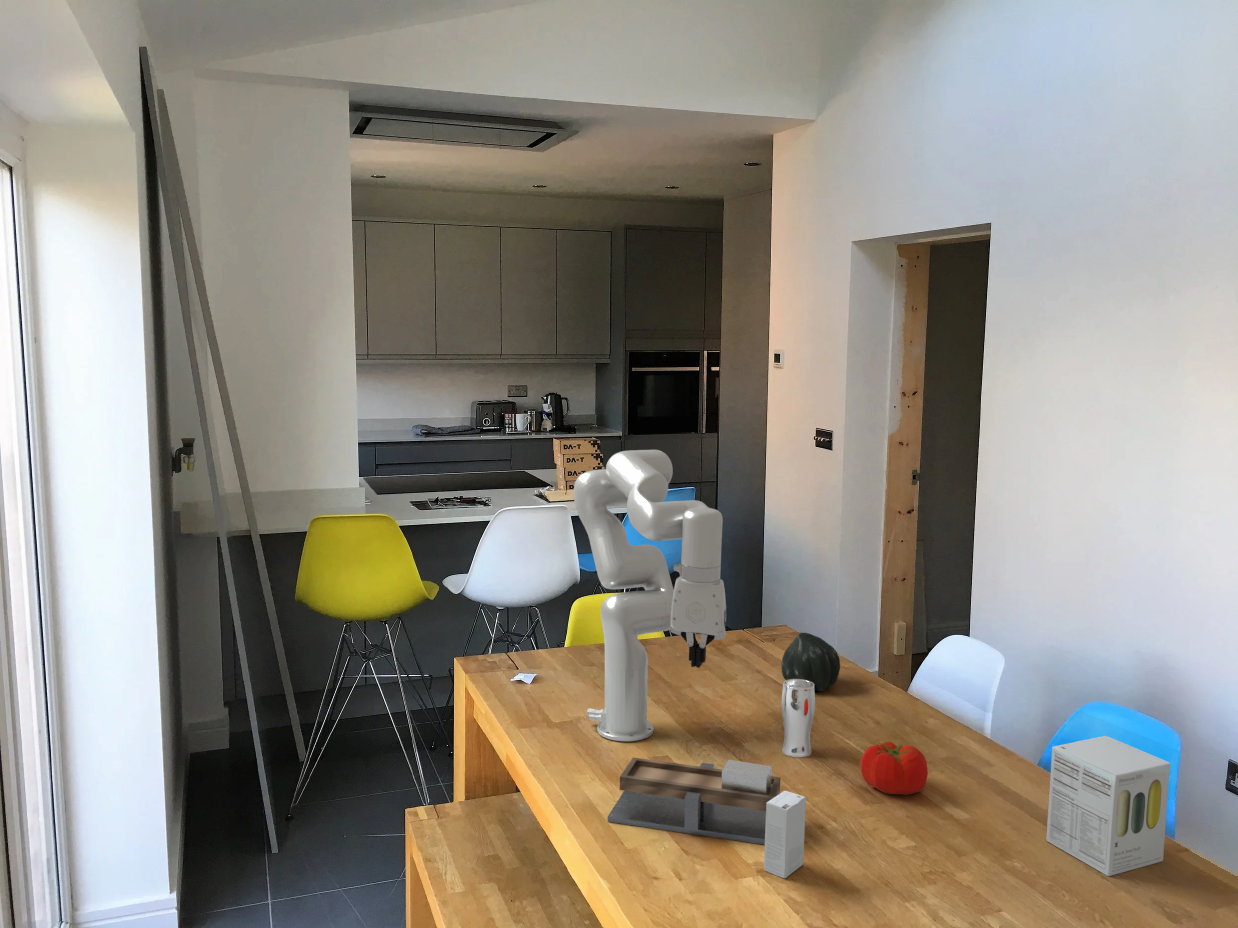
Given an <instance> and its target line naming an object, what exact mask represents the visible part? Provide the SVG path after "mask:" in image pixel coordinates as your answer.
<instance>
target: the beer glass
mask: <svg viewBox="0 0 1238 928" xmlns="http://www.w3.org/2000/svg"><path fill="white" fill-rule="evenodd" d="M815 691H816V690H815V688H814V684H813V683H812V682H810V681H807V680H803V679H789V680H784V681H783V683H782V693H781V715H782V722H783V730H784V740H783V745H782V748H781V749H782V753H783V754H784V755H786V756H789V757H791V758H797V759H798V758H801V759H802V758H807V757H809V756H811V754H812V747H811V737H810V736H811V730H812V725H813V722H814V721H813V720H814V716H815V711H816V710H815V708H816V693H815Z"/></svg>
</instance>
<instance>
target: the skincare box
mask: <svg viewBox="0 0 1238 928" xmlns="http://www.w3.org/2000/svg"><path fill="white" fill-rule="evenodd" d="M806 805H807V797H806V796H804V795H800V794H797V793H794V792H791V791H788V790H783V791H781V792H779V795H777V796H776V797H774V798H773V799H771V800H770V801H768V802H767V804H766V827H765V845H764V857H763V860H764V861H763V870H764V871H765V872H767V873H769V874H772V875H774V876H776V877H778V878H782V879H786V878H788V877H789V876H790V875H791V874H792V873H794V872H795V871H796V870H798V869H799V868H800V867H801V866H803V865H804V856H805V855H804V853H805V831H806V830H805V829H806V811H807V810H806V808H807V807H806Z"/></svg>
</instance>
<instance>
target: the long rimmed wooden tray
mask: <svg viewBox="0 0 1238 928" xmlns="http://www.w3.org/2000/svg"><path fill="white" fill-rule="evenodd" d="M722 770H723V768H722V769H721V768H715V767H714V768H707V767H700V765H699V766H698V765H690V764H683V763H676V762H670V761H661V760H654V759H648V758H647V759H646V758H639V757H632V758H631V760H630V761H629V763H628V764H627V765H626V767H625V769H624V770H623V771H622V773H621V775H619V791H623V792H624V791H631V792H637V793H644V794H651V795H658V796H665V797H672V798H679V799H685V796H686V794H687V792H694V793H701V802H706V803H713V804H720V805H727V806H734V807H740V808H747V809H754V810H761V811H766V804H767V802H768V801H770V800H771V799H773V798H774V797H776V796H777V795H779V794H780V793H781V777H780V776H772V777H771V789H770V791H769V793H768V795H763V794H756V793H749V792H742V791H734V790H727V789H721V787H722Z"/></svg>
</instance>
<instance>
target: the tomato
mask: <svg viewBox="0 0 1238 928" xmlns="http://www.w3.org/2000/svg"><path fill="white" fill-rule="evenodd" d="M860 770H861V776H862V778H863V780H864V782H865V783H867V784H868V785H869V786H870V787H873V788H875V789H877V790H879V792H882V793H885V794H887V795H906V796H907V795H912V794H915V793H918V792H921V790H923V789H924V788H925V786H926V784H927V780H928V775H929V771H928V770H929V769H928V762H927V759H926V757H925V755H924V754H923V753H922V752H921V751H920V750H919V748H917V747H916V746H913V745H909V744H904V745H903V744H899V745H898V746H897V745H896V744H894V742H892V741H885V742H881V743H880V742H879V745H877V744H873V745H870V746H869V747H868V748H867V749H865V751H864V752H863V753H862V756H861V760H860Z"/></svg>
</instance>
